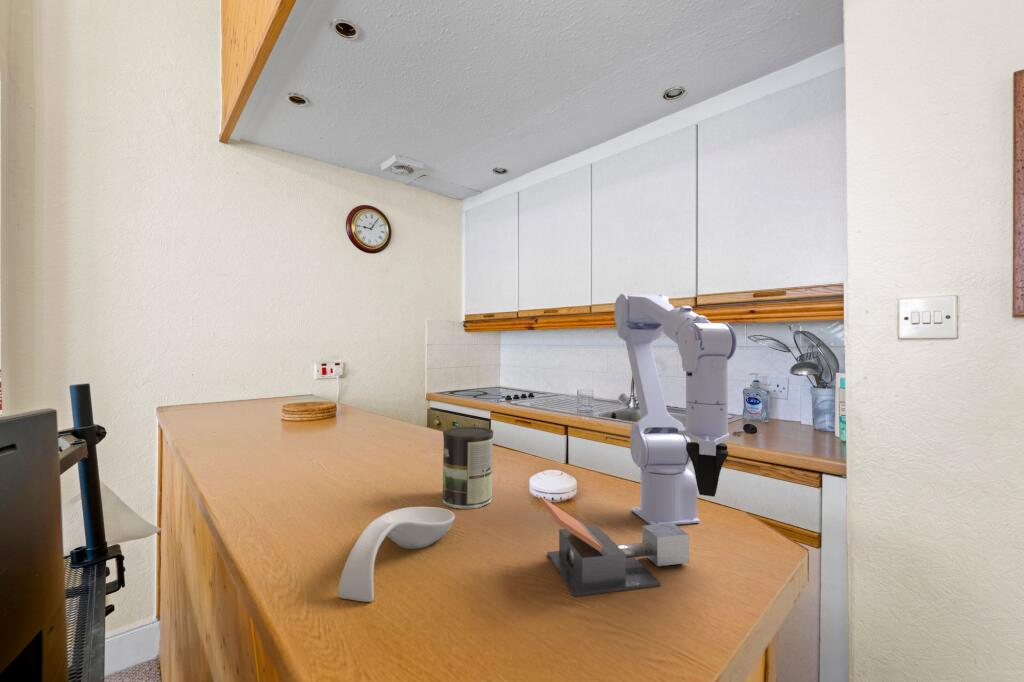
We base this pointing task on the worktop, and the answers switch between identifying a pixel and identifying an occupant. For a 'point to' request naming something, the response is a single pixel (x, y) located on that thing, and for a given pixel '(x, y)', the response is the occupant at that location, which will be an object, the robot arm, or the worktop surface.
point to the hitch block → (598, 566)
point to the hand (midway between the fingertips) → (706, 493)
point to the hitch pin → (658, 545)
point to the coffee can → (467, 467)
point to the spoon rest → (402, 528)
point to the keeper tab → (573, 526)
